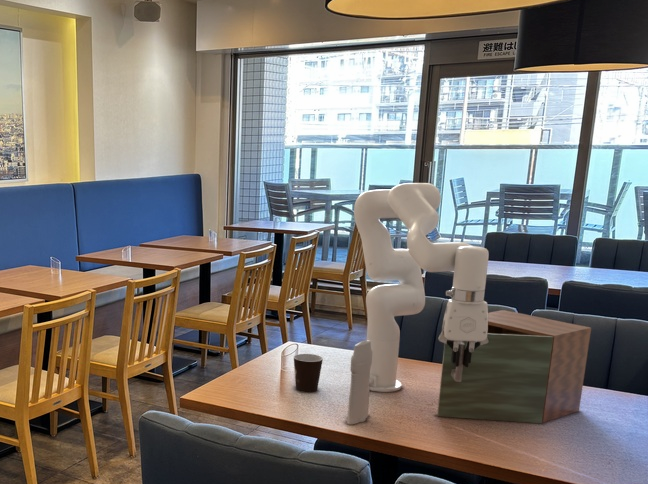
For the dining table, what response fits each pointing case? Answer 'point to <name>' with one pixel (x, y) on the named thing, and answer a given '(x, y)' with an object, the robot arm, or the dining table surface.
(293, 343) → the dining table surface
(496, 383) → the cupboard door
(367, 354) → the tall pale column
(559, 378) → the cupboard
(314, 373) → the coffee mug
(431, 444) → the dining table surface
